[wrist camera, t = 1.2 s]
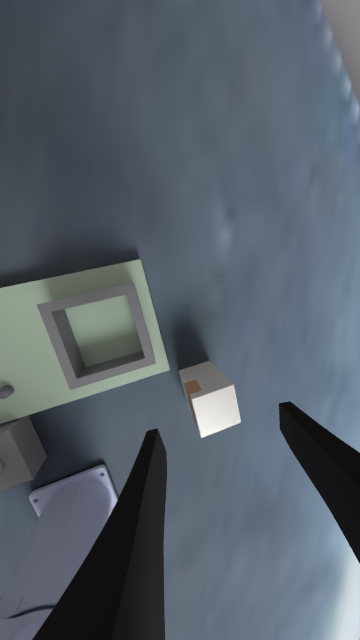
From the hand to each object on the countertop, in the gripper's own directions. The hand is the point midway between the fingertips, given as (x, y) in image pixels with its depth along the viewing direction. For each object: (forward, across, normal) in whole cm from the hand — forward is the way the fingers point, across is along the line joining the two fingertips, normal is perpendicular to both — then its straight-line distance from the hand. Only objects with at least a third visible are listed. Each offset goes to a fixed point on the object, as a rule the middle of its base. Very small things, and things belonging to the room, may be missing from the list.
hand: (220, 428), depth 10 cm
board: (+9, +14, -4) cm, 17 cm away
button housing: (+6, +21, +4) cm, 23 cm away
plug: (+10, +1, +5) cm, 11 cm away
